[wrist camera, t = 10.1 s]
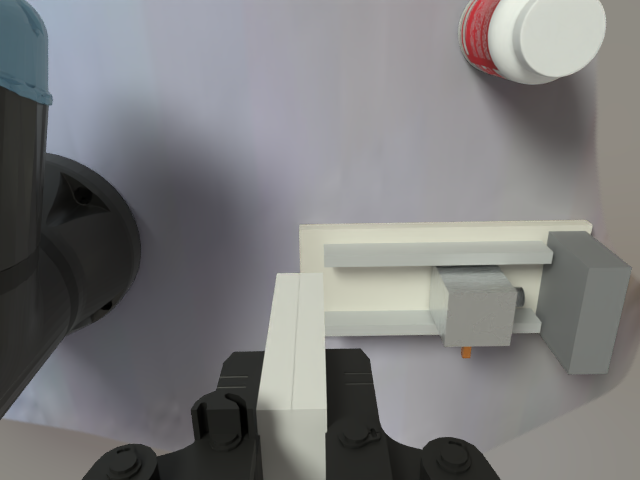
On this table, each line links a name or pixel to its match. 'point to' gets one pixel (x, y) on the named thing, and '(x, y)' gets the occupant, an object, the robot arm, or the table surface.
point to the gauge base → (472, 249)
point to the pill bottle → (531, 37)
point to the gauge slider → (473, 305)
